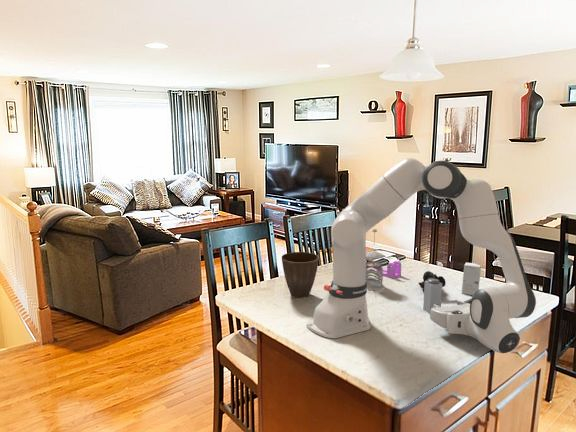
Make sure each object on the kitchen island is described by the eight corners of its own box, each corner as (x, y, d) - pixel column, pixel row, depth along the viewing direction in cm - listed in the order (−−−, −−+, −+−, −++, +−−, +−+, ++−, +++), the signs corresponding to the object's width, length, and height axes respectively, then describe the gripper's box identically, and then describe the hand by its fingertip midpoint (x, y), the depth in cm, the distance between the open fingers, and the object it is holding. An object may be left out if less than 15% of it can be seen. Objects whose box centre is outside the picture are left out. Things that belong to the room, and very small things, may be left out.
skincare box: (461, 293, 178) (463, 264, 176) (463, 290, 182) (465, 262, 180) (477, 296, 175) (480, 267, 173) (479, 292, 179) (481, 264, 177)
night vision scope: (426, 289, 191) (445, 276, 188) (431, 305, 173) (453, 291, 171) (414, 275, 190) (433, 261, 188) (419, 290, 173) (440, 275, 170)
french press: (385, 290, 182) (387, 231, 177) (357, 289, 184) (358, 231, 179) (384, 283, 192) (386, 226, 187) (357, 281, 193) (358, 226, 189)
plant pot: (326, 295, 177) (326, 257, 174) (297, 304, 168) (297, 264, 165) (302, 286, 188) (302, 249, 186) (274, 294, 179) (273, 256, 176)
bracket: (401, 276, 201) (401, 261, 199) (393, 279, 197) (394, 264, 196) (378, 269, 211) (378, 255, 209) (370, 272, 207) (371, 258, 206)
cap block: (440, 312, 160) (442, 281, 157) (429, 314, 158) (431, 282, 156) (433, 308, 164) (435, 277, 162) (423, 309, 163) (424, 278, 160)
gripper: (502, 308, 140) (473, 293, 154) (445, 314, 135) (421, 298, 148) (500, 326, 142) (472, 310, 155) (444, 334, 136) (420, 316, 150)
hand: (446, 304), depth 152 cm, fingers open, 8 cm apart
